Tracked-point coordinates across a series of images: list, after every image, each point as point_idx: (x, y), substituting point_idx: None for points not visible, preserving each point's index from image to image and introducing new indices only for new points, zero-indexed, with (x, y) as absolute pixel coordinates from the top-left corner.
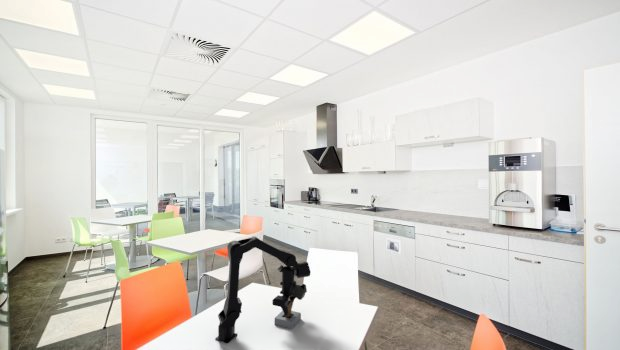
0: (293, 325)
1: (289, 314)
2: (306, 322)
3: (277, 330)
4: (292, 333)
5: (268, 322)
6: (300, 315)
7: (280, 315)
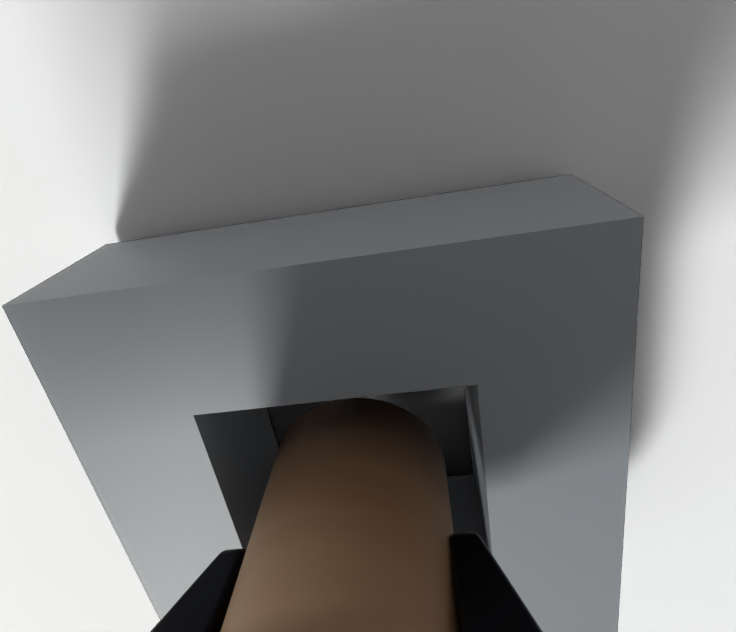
0: (514, 195)
1: (403, 496)
2: (100, 43)
3: (716, 405)
4: (729, 59)
5: None
6: (68, 276)
7: None
